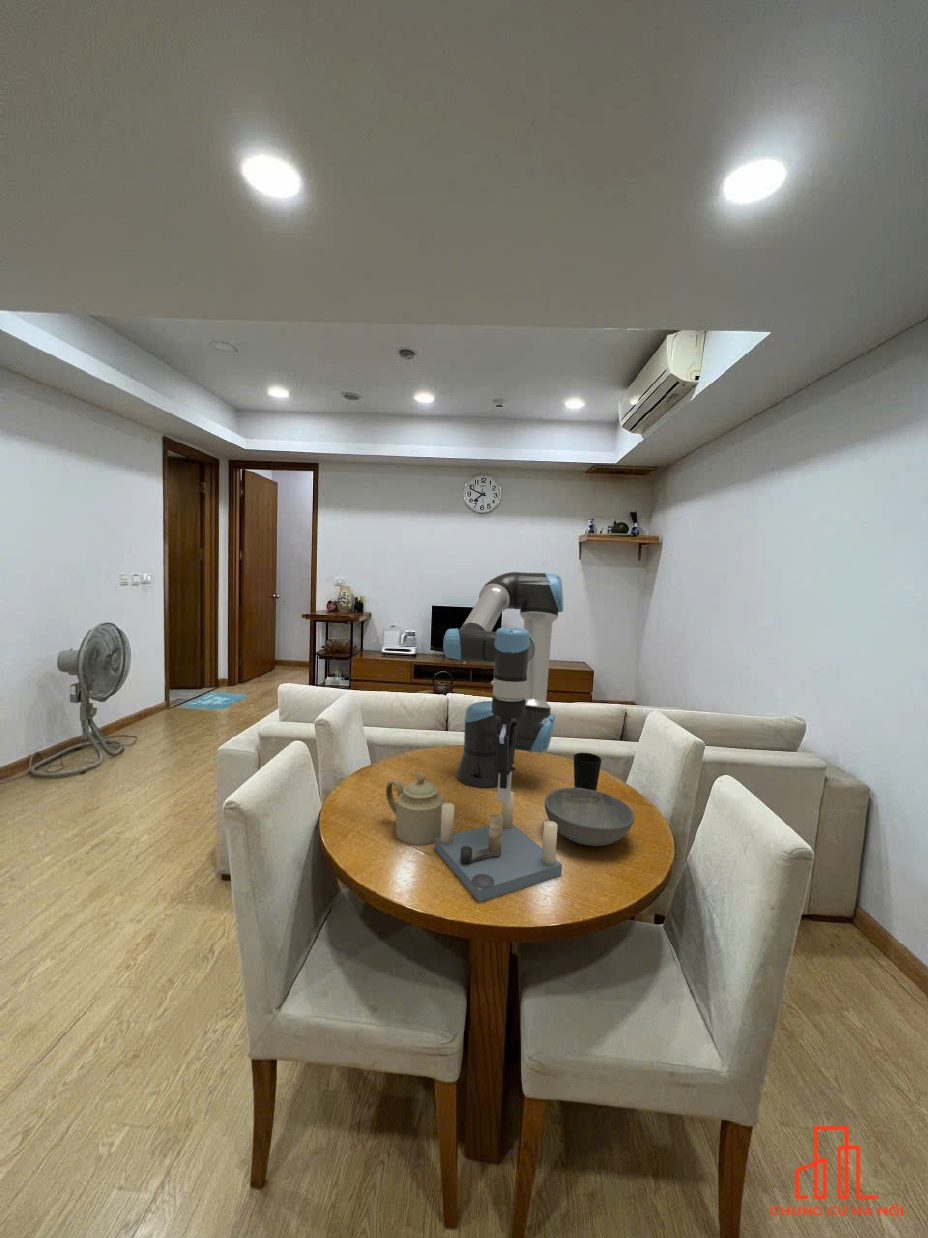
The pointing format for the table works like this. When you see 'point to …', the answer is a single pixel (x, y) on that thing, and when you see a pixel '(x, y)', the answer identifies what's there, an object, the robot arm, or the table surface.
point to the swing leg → (494, 843)
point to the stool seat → (498, 873)
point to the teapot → (416, 811)
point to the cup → (586, 770)
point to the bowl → (588, 816)
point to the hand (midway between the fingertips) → (503, 799)
